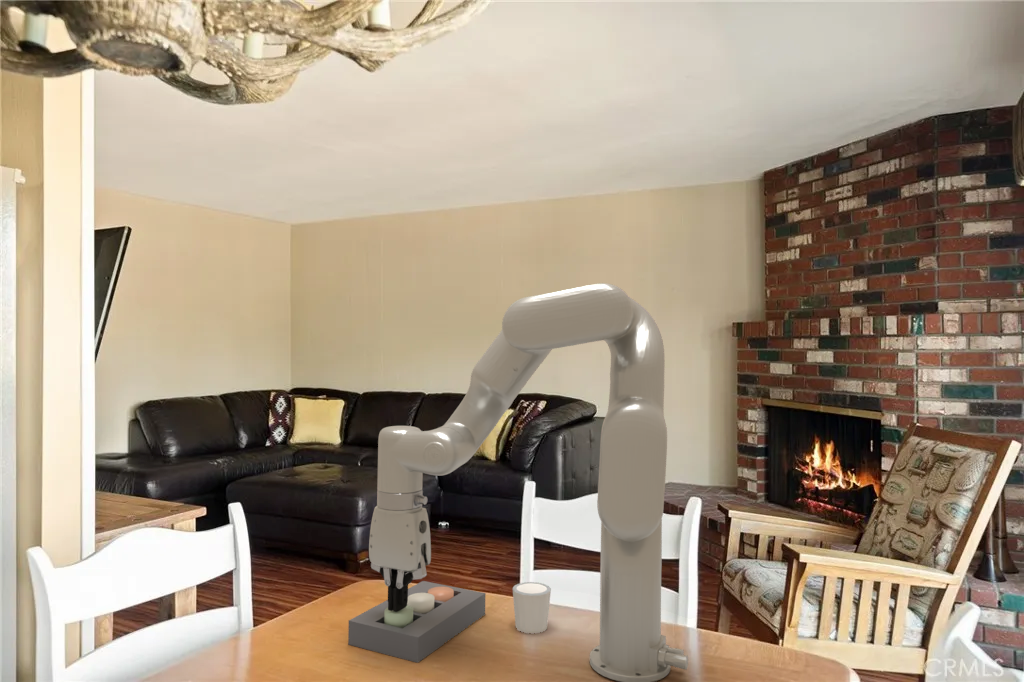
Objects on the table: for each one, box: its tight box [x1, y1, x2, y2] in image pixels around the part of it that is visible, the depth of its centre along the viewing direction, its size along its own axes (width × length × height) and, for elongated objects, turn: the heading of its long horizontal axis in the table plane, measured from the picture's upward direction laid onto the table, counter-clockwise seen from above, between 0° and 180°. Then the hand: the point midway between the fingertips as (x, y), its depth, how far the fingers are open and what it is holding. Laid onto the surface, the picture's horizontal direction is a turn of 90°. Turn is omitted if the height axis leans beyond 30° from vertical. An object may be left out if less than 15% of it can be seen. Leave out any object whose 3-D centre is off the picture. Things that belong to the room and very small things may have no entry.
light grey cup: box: [512, 581, 552, 635], centre depth 123 cm, size 7×7×7 cm
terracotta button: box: [428, 587, 454, 602], centre depth 127 cm, size 5×5×3 cm
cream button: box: [407, 593, 434, 614], centre depth 121 cm, size 5×5×3 cm
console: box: [347, 580, 486, 664], centre depth 121 cm, size 14×22×4 cm, turn 153°
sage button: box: [384, 605, 413, 628], centre depth 116 cm, size 5×5×3 cm
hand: (397, 608), depth 116 cm, fingers closed
